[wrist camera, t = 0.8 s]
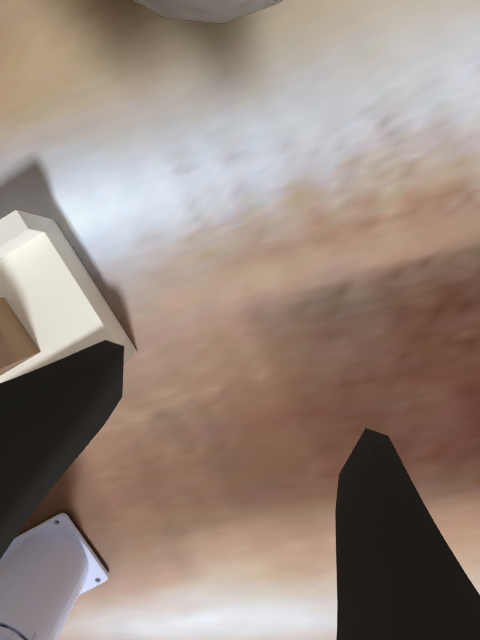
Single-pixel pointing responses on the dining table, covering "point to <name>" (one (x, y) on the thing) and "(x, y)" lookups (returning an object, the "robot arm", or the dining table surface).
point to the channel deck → (52, 293)
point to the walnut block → (13, 339)
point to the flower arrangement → (206, 9)
